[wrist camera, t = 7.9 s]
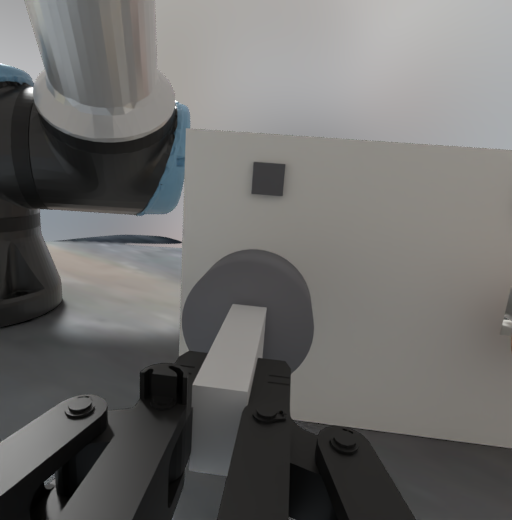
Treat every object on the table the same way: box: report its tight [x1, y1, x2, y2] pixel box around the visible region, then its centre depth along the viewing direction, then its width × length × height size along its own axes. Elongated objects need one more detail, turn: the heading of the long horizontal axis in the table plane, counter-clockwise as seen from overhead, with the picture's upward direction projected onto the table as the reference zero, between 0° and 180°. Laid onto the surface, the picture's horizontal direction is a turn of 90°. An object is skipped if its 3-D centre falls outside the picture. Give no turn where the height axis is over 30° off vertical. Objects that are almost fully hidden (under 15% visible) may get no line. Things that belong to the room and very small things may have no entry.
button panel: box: [179, 128, 512, 448], centre depth 26 cm, size 7×26×18 cm, turn 84°
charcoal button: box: [182, 249, 314, 374], centre depth 21 cm, size 10×6×6 cm, turn 174°
